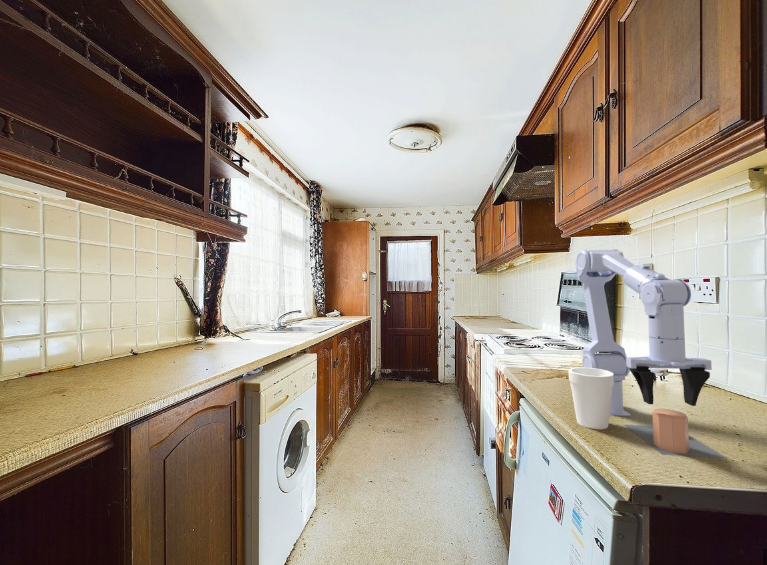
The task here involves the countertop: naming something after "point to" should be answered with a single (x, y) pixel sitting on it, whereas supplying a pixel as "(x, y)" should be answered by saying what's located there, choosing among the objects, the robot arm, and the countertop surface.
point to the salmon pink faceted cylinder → (670, 430)
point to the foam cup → (591, 396)
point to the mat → (694, 450)
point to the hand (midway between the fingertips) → (669, 403)
